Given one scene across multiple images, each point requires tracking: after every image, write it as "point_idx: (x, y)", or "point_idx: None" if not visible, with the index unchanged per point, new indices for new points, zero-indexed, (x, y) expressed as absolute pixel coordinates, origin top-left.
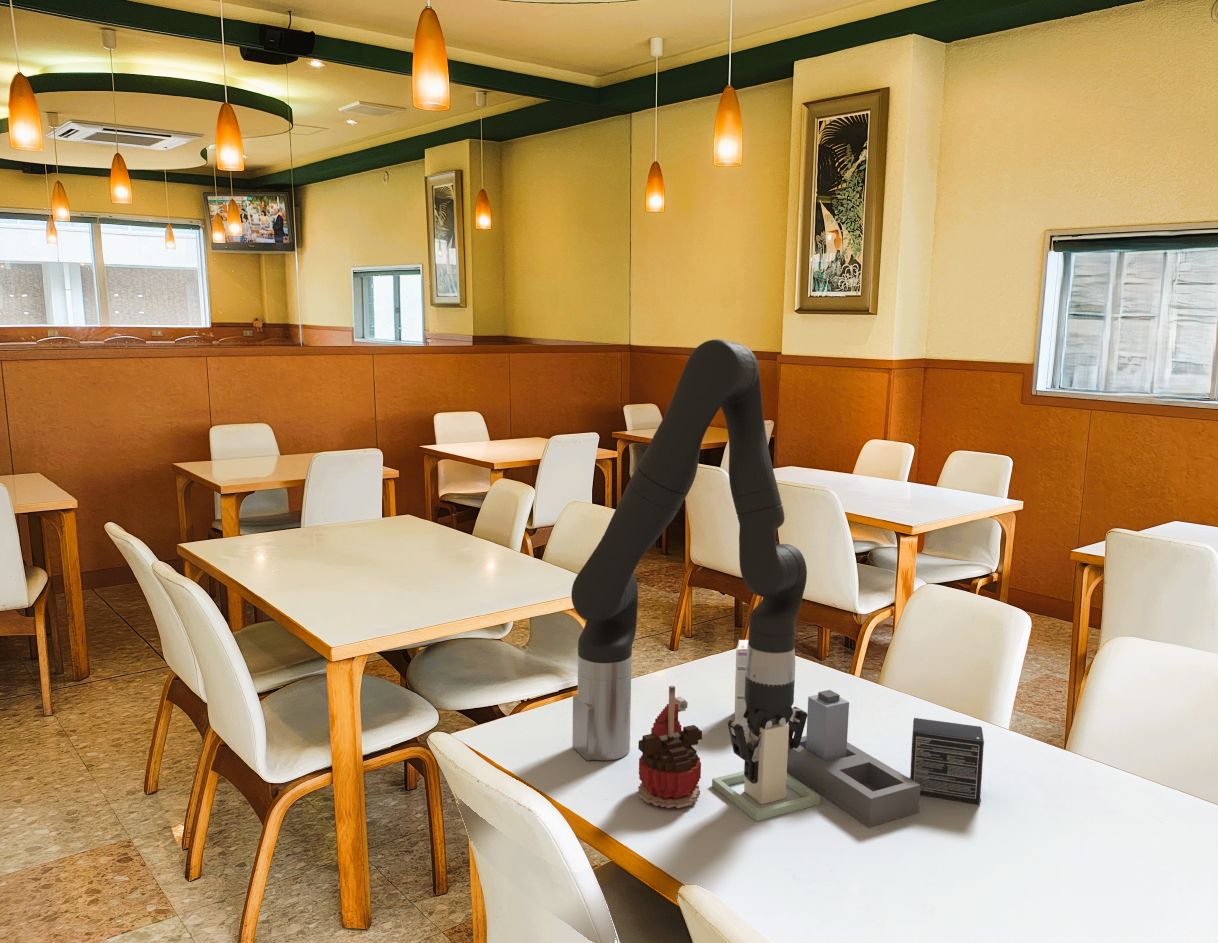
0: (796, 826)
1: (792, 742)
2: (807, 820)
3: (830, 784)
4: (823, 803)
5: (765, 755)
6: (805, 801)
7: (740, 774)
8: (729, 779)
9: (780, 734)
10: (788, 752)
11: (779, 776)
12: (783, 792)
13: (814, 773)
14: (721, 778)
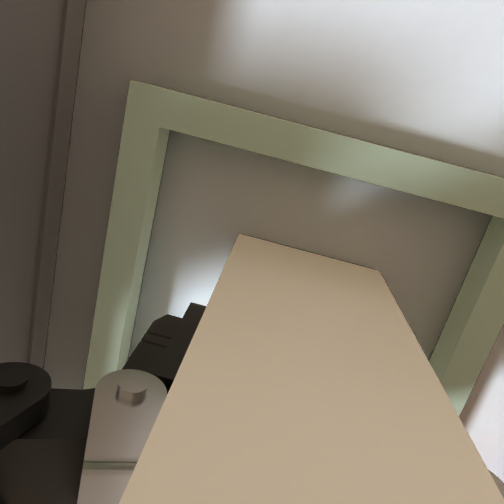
0: (435, 13)
1: (26, 426)
2: (335, 14)
3: (23, 64)
4: (124, 75)
5: (457, 447)
6: (234, 108)
7: None
8: None
9: None
10: (124, 375)
11: (276, 291)
12: (250, 246)
13: (9, 216)
14: None
